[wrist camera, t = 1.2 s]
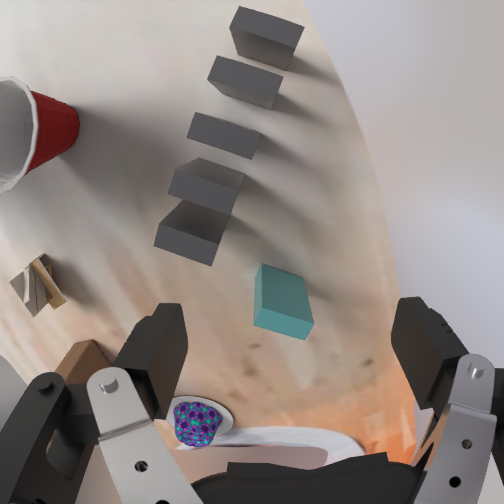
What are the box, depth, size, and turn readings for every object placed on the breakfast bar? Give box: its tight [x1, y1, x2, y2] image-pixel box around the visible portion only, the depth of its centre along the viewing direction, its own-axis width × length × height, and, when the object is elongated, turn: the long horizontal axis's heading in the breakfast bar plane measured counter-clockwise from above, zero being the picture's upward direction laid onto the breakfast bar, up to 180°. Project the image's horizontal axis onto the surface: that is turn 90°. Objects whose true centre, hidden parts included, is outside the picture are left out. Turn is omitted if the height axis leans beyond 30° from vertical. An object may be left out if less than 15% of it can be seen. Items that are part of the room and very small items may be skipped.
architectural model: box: [9, 253, 67, 318], centre depth 33 cm, size 3×7×7 cm, turn 28°
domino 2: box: [207, 56, 283, 110], centre depth 23 cm, size 2×5×9 cm, turn 70°
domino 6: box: [254, 264, 314, 340], centre depth 31 cm, size 2×5×9 cm, turn 69°
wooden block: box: [47, 339, 111, 448], centre depth 33 cm, size 9×4×18 cm, turn 20°
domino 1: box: [229, 6, 304, 71], centre depth 22 cm, size 2×5×9 cm, turn 69°
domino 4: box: [168, 158, 245, 215], centre depth 26 cm, size 2×5×9 cm, turn 69°
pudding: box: [166, 396, 233, 447], centre depth 43 cm, size 12×12×5 cm
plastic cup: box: [0, 76, 80, 194], centre depth 23 cm, size 11×11×12 cm
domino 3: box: [186, 112, 261, 160], centre depth 25 cm, size 2×5×9 cm, turn 70°
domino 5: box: [154, 200, 229, 266], centre depth 28 cm, size 2×5×9 cm, turn 69°
